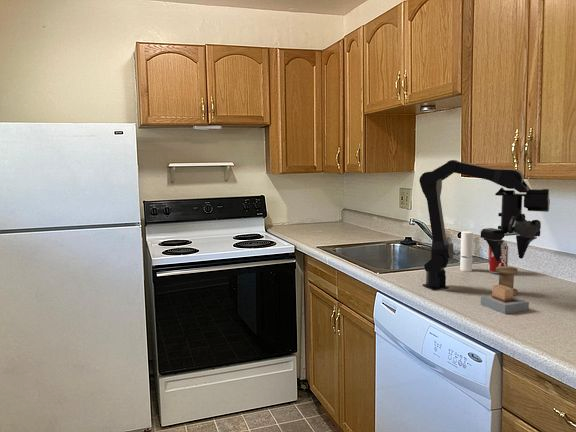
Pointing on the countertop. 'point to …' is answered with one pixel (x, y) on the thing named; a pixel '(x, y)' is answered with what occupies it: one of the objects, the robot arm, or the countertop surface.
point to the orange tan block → (502, 293)
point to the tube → (466, 251)
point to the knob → (507, 277)
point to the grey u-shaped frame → (505, 305)
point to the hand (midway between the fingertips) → (509, 259)
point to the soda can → (503, 259)
